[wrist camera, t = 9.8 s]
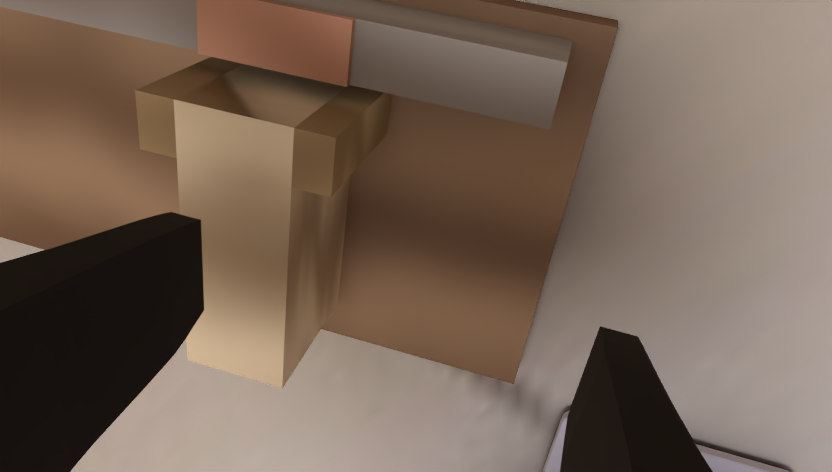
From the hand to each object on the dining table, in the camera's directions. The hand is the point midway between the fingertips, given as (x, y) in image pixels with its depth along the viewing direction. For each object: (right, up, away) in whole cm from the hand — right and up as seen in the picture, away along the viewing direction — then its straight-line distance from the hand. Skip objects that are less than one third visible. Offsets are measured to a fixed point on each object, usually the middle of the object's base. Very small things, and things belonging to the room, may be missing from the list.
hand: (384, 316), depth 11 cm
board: (-8, +5, +11) cm, 15 cm away
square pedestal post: (-3, +3, +9) cm, 10 cm away
